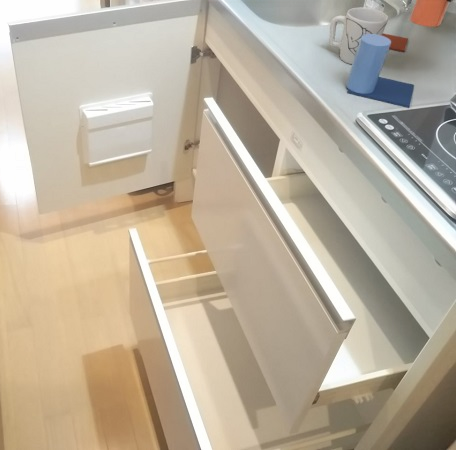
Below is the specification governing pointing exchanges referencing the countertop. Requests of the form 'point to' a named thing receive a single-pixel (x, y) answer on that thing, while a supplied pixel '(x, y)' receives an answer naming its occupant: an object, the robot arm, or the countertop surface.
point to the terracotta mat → (397, 42)
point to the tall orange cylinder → (429, 12)
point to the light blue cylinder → (368, 63)
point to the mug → (356, 29)
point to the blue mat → (390, 92)
